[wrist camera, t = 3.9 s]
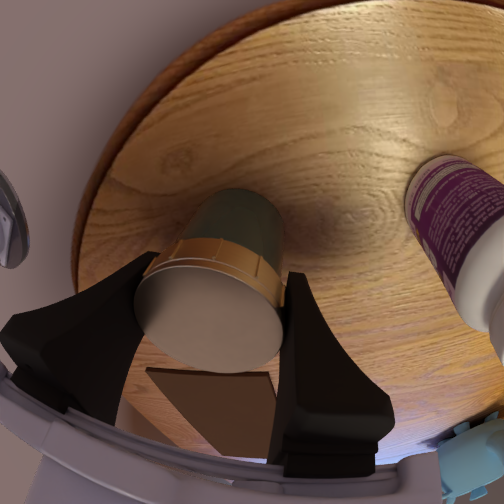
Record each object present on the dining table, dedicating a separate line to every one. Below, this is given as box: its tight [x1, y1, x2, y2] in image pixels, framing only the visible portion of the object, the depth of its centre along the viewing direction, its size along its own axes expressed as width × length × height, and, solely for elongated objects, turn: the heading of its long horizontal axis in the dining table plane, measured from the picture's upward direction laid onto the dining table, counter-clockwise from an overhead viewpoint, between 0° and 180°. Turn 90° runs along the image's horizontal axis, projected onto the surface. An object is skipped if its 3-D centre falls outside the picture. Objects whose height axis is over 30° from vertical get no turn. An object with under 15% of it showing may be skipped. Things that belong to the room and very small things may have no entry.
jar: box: [174, 189, 285, 280], centre depth 13 cm, size 5×5×6 cm
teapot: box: [436, 411, 504, 504], centre depth 24 cm, size 16×20×14 cm
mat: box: [145, 368, 277, 459], centre depth 30 cm, size 26×12×1 cm, turn 12°
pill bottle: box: [405, 155, 504, 366], centre depth 9 cm, size 5×5×10 cm
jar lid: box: [133, 238, 286, 373], centre depth 10 cm, size 6×6×2 cm
